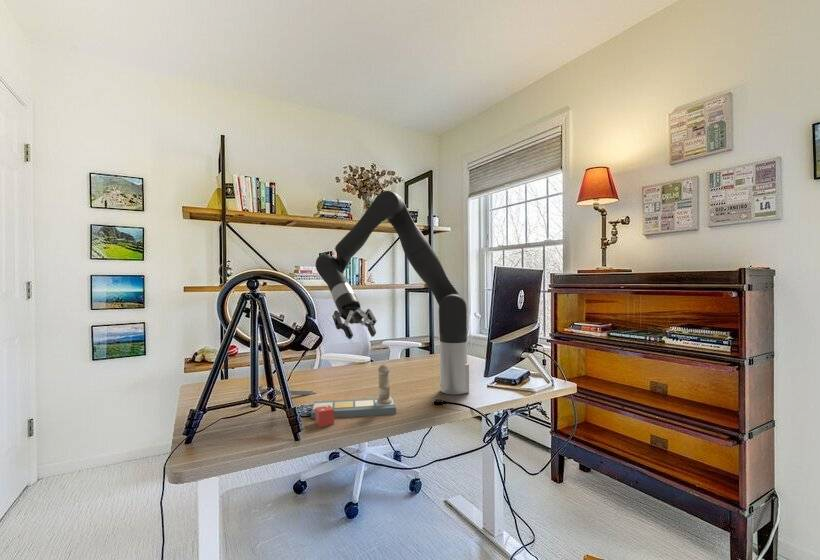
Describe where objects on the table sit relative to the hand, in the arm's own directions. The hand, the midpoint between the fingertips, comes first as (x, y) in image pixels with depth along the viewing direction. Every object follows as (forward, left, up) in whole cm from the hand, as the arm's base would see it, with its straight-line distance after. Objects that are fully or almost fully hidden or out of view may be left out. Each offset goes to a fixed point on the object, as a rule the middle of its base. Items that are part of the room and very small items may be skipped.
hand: (362, 336), depth 129 cm
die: (+11, +19, -20) cm, 30 cm away
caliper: (+25, -6, -21) cm, 33 cm away
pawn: (-6, +10, -18) cm, 22 cm away
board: (+3, +10, -20) cm, 23 cm away
